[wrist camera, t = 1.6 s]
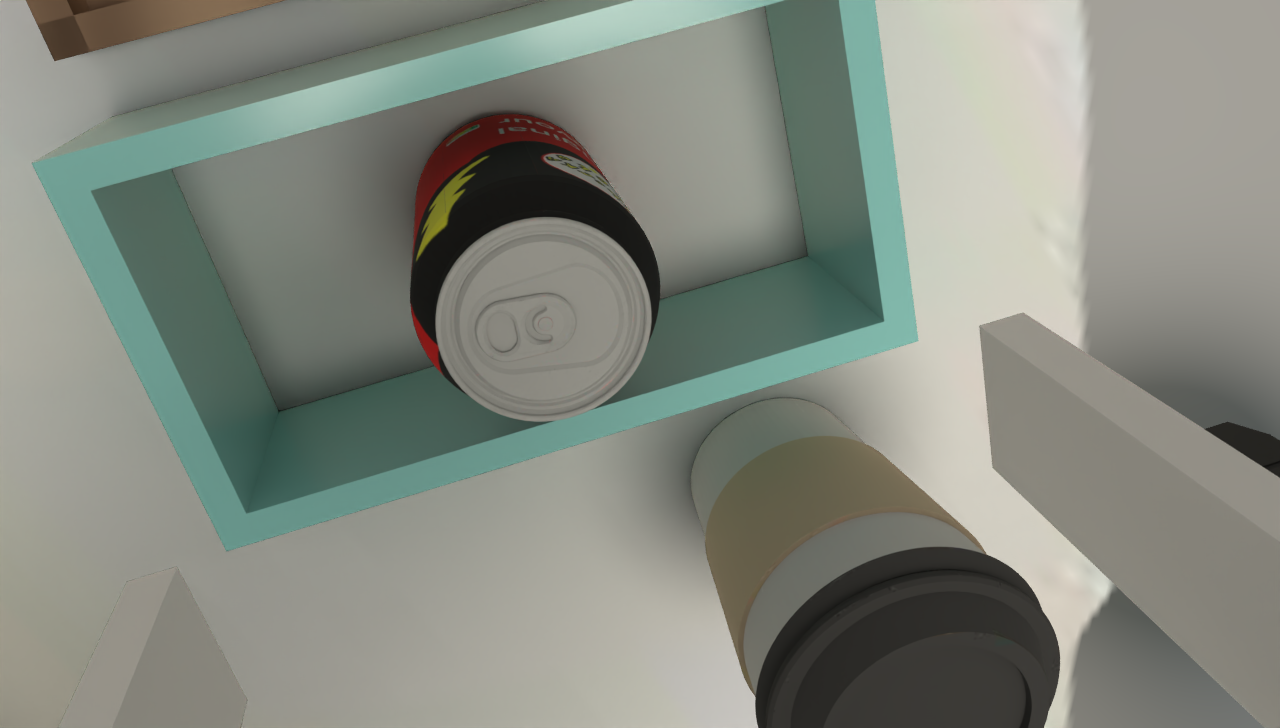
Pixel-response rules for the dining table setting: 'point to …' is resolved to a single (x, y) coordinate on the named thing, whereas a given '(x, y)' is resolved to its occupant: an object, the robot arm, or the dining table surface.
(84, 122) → the dining table surface
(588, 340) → the beverage can
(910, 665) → the coffee cup
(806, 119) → the teal open box
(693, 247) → the dining table surface
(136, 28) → the tray
